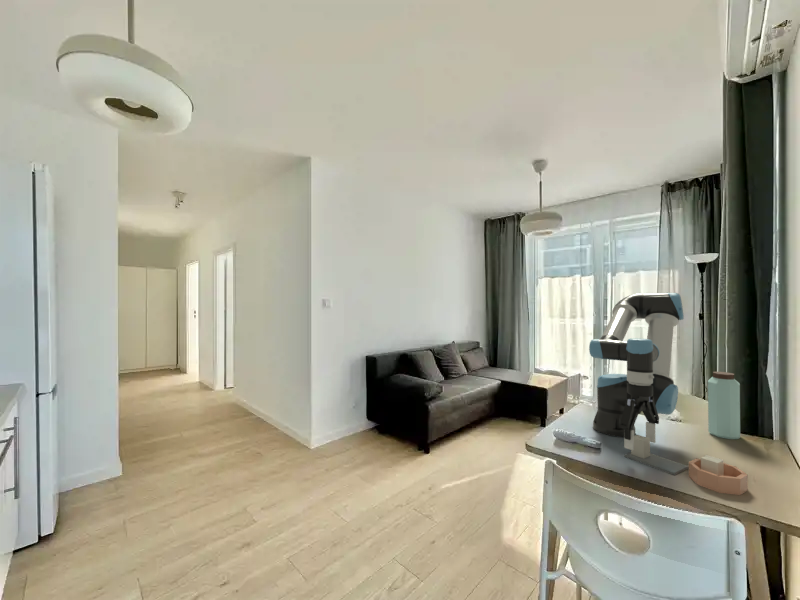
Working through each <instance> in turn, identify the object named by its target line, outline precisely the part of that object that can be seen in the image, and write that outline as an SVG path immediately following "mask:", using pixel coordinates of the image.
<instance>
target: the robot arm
mask: <svg viewBox="0 0 800 600" xmlns="http://www.w3.org/2000/svg"><path fill="white" fill-rule="evenodd" d="M611 311H612V312H611V313H612V314H611V315H612V316H611V318H610V319H609V321H608V324H607V326H606V327H605V329H604V331H603V332H602V335H601V337H600V339H599V338H595V339H591V340H590V342H589V348H588V350H589V356H591V358H594V359H601V360H611V361H622V362H623V361H624V362H626V374H625V373H607V374H602V375H600V376H598V377H597V385H596V388H597V389H596V391H597V395H596V396H597V401H596V402H597V410H596V413H595V416H594V419H593V422H592V428H593V430H595V431H596V430H597V431H596V432H598V431H599V432H598V433H600V432H601V434H603V433H604V434H603V435H606V436H607V435H608V436H611V437H617V436H618V438H619V437H620V438H623V441H624V442H623V445H624V446H623V448H624V449H627V450H630V451H631V450H634V436H635V435H636V427H635V423H636V421H637V419H638V416H639V414H641V413H643V415H644V417H645V418H646V421H645V437H647V438H650V443H654V444H655V443H656V424H657V425H659V424H660V416H659V414H660V415H665V416H667V415H671V414H673V413H674V411H675V409H676V406H677V403H678V396H679V387H678V385H676V384H674V383H675V382H674V379H672V378H671V377H670V375H671V374H670V373H671V361H672V348H673V339H674V337H673V336H674V328H675V327H676V326H678V324H679V322H680V321H681V320H684V319H685V318H684V317H685V316H684V315H685V314H684V309H683V302H682V298H681V295H680V294H679V293H678V292H651V293H650V292H646V293H645V292H644V293H642V292H639V293H634V294H630V295H628V296H626V297H623V298H622V299H621V300H619V301H617V303H616V304H614V307H613V309H612V310H611ZM638 319H642V320H645V322H646V324H648V329H647V337H646V338H643V337H642V338H640V337H639V338H638V337H635V338H634V337H633V338H632V337H631V338H628V339H627V341H626V340H624V339H625V337H626V334H627V333H628V331H629V329H630V326H631V323H632V322H634V321H636V320H638Z"/></svg>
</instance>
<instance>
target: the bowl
mask: <svg viewBox="0 0 800 600" xmlns="http://www.w3.org/2000/svg"><path fill="white" fill-rule="evenodd" d="M688 477H689V478H690V480H692V481H693V482H694V483H695V484H696V485H697V486H699V487H700V486H701V487H704V488H706V489H708V490H711V491H713V492H716V493H719V494H728V495H730V494H731V495H738V496H741V495H743V494H744V493H746V492H748V490H749V487H748V486H749V480H748V474H747V473H746V472H744V471H743V470H742V469H740V468H739V467H738V466H736V465H732V464H729V463H727V462H724V476H722V475H716V474H713V473H710V472H708V471H705V470H702V469H701V458H694V459H692V460H690V461H688Z"/></svg>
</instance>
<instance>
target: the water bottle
mask: <svg viewBox="0 0 800 600" xmlns="http://www.w3.org/2000/svg"><path fill="white" fill-rule="evenodd" d="M707 408H708V410H707V416H708V417H707V418H708V419H707V421H708V424H707V425H708V429H707V430H708V432H709V433H710V435H712V436H715V437H717V438H721V439H727V440H739V439H740V438H741V384H740V382H739V381H738V380H736V379H735V373H732V372H727V371H712V376H711V377H710V378H709V379H708V380H707Z"/></svg>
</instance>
